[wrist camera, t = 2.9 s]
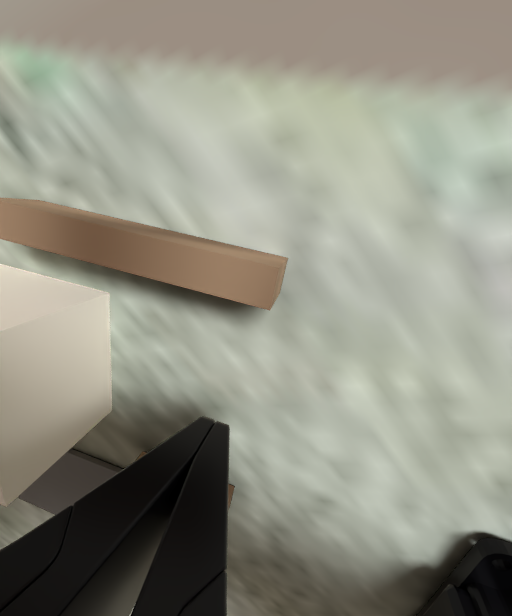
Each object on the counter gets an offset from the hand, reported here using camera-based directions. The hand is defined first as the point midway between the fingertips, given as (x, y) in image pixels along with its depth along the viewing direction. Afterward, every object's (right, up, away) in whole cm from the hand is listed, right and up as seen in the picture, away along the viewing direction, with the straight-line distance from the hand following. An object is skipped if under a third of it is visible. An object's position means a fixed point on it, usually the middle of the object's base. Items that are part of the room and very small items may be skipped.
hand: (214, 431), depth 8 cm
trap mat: (-8, -5, +5) cm, 11 cm away
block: (-7, +2, +3) cm, 7 cm away
